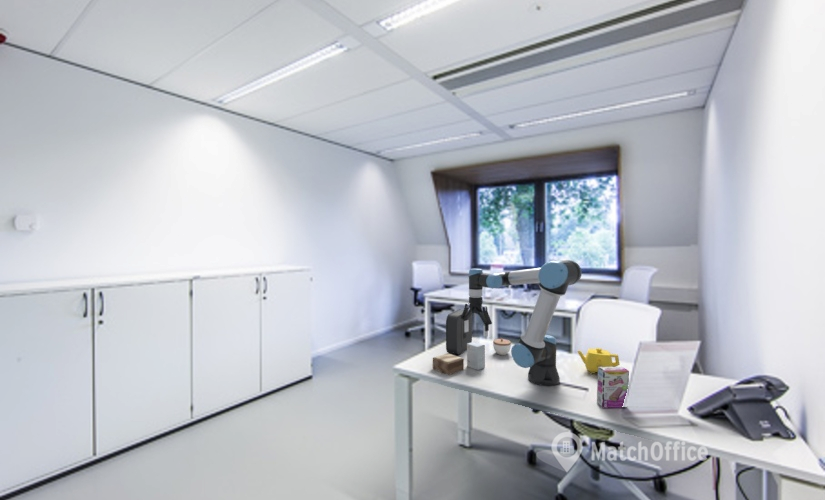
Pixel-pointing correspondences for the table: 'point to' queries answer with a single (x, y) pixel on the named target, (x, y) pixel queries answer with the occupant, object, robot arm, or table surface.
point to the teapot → (598, 359)
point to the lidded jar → (501, 346)
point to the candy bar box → (612, 386)
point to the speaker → (457, 333)
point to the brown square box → (448, 363)
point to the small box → (476, 355)
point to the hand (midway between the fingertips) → (475, 334)
